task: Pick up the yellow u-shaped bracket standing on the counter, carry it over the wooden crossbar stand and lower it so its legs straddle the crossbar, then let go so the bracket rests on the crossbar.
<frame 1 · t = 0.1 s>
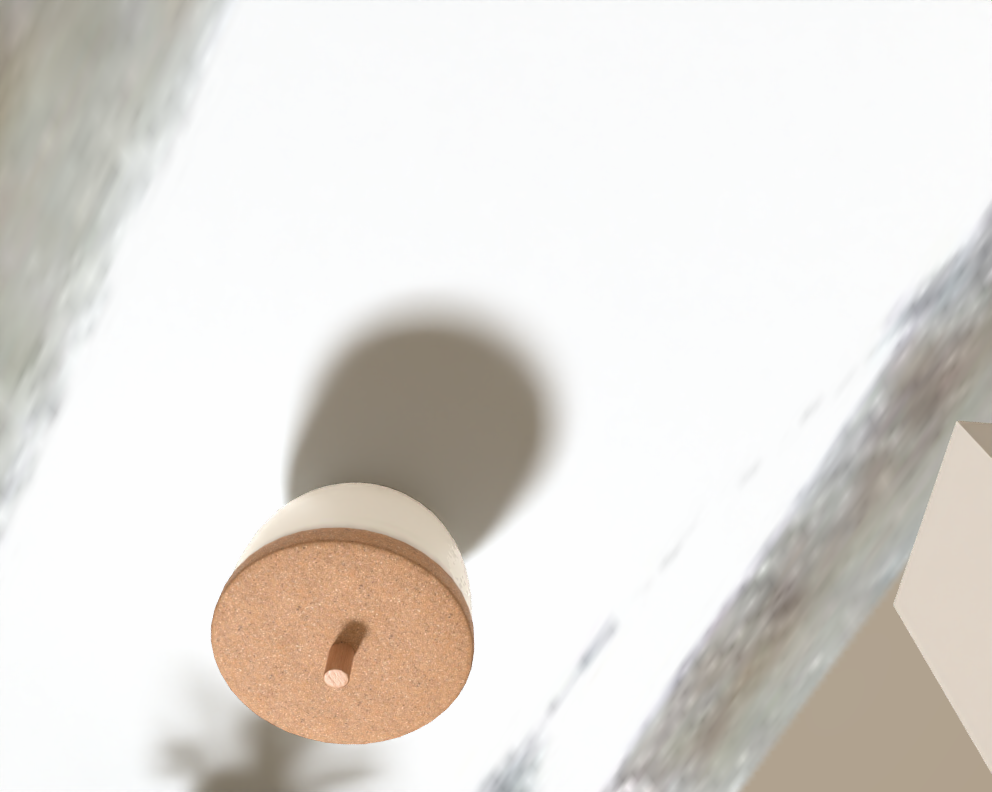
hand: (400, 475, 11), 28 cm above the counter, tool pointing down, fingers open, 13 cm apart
lidded jar: (366, 537, 46), on the counter
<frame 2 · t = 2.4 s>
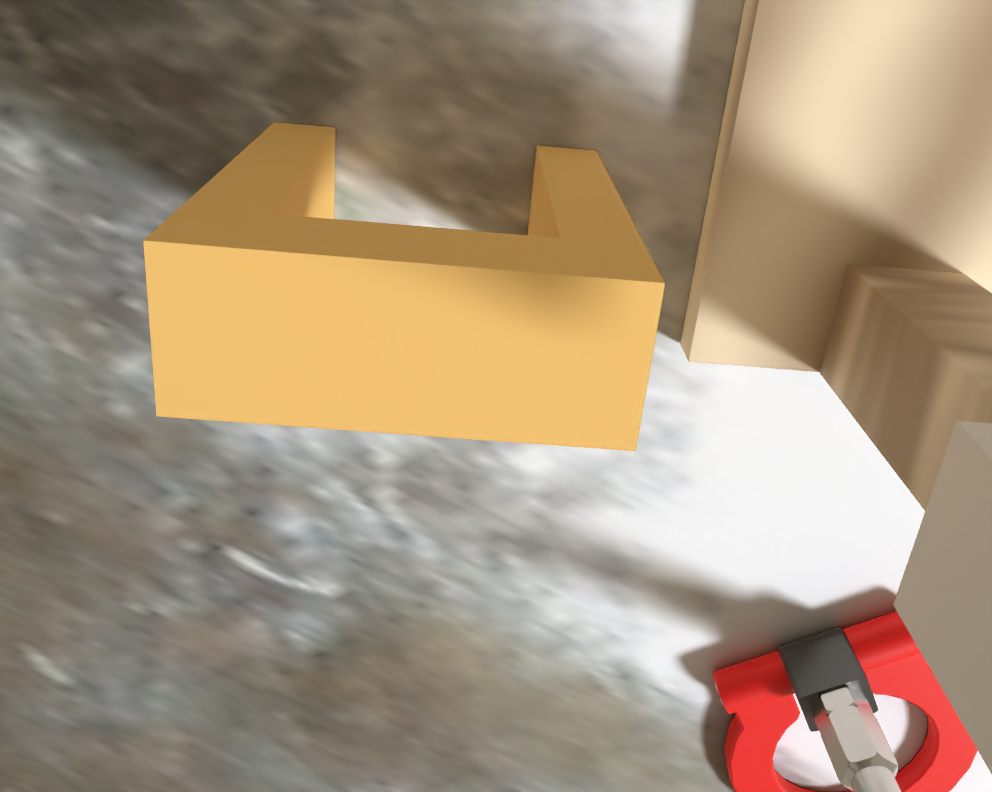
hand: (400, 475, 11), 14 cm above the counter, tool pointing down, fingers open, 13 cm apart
tow hook: (840, 719, 33), on the counter
wooden crossbar stand: (937, 75, 23), on the counter
yellow u-shaped bracket: (433, 196, 24), on the counter
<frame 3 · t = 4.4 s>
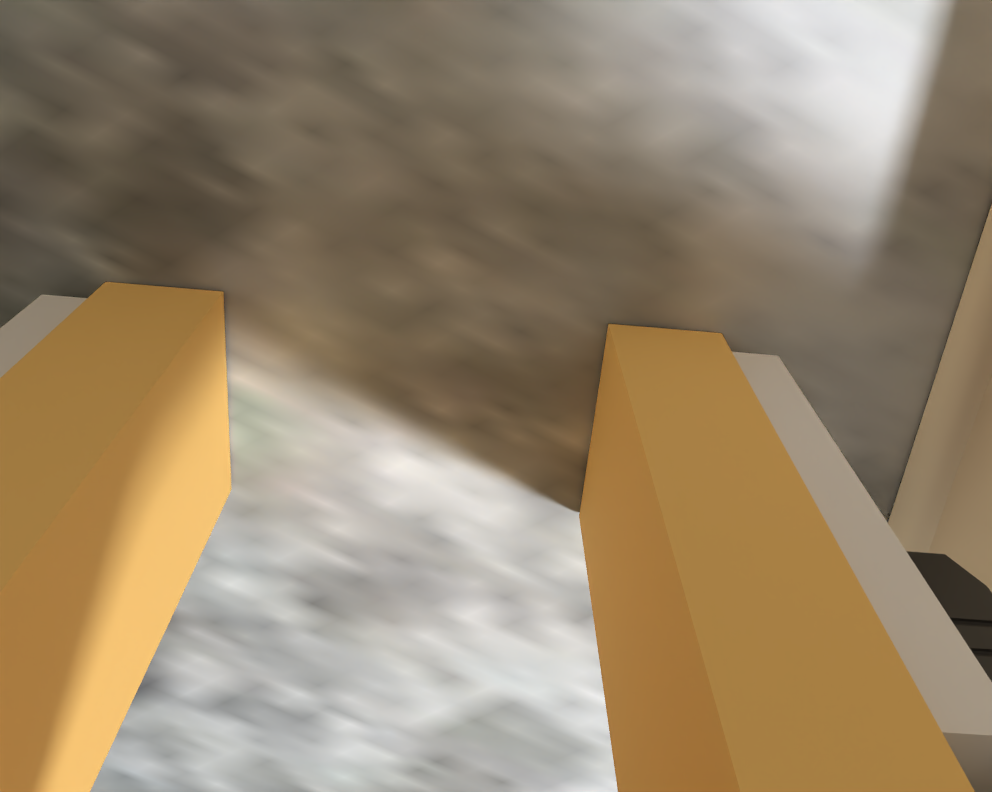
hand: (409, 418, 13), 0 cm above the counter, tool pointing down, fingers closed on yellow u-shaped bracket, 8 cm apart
yellow u-shaped bracket: (411, 410, 13), on the counter, touching gripper
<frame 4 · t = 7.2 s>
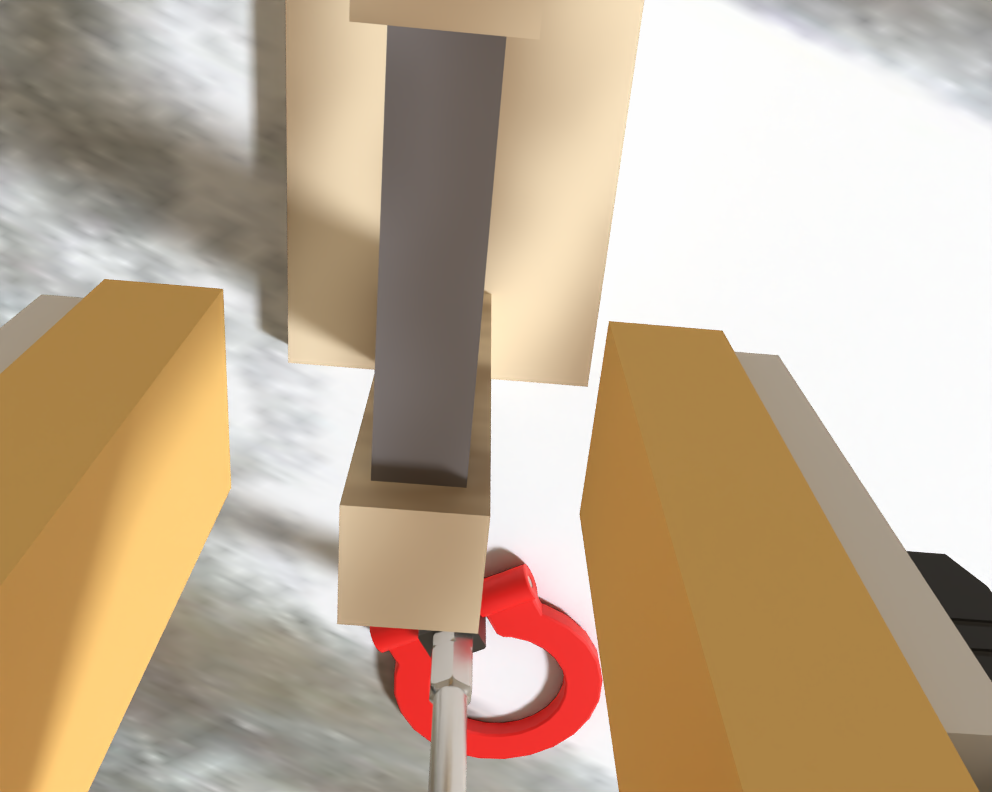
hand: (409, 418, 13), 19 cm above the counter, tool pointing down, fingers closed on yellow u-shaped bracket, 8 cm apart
tow hook: (493, 660, 39), on the counter
wooden crossbar stand: (456, 140, 30), on the counter
yellow u-shaped bracket: (411, 408, 13), point 18 cm above the counter, touching gripper
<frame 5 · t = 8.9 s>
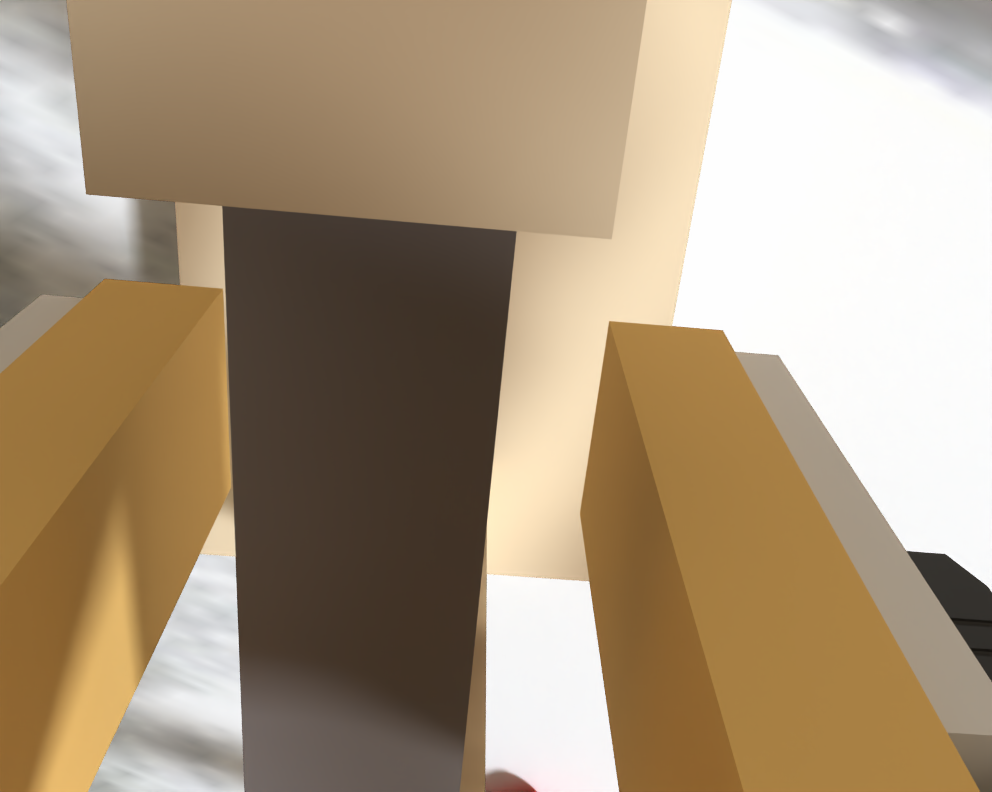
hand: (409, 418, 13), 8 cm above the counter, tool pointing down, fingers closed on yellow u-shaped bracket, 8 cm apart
wooden crossbar stand: (434, 243, 20), on the counter
yellow u-shaped bracket: (411, 407, 13), point 8 cm above the counter, touching gripper
when the fingers open (7 cm above the counter, at t = 10.1 s): yellow u-shaped bracket drops 1 cm, resting on wooden crossbar stand.
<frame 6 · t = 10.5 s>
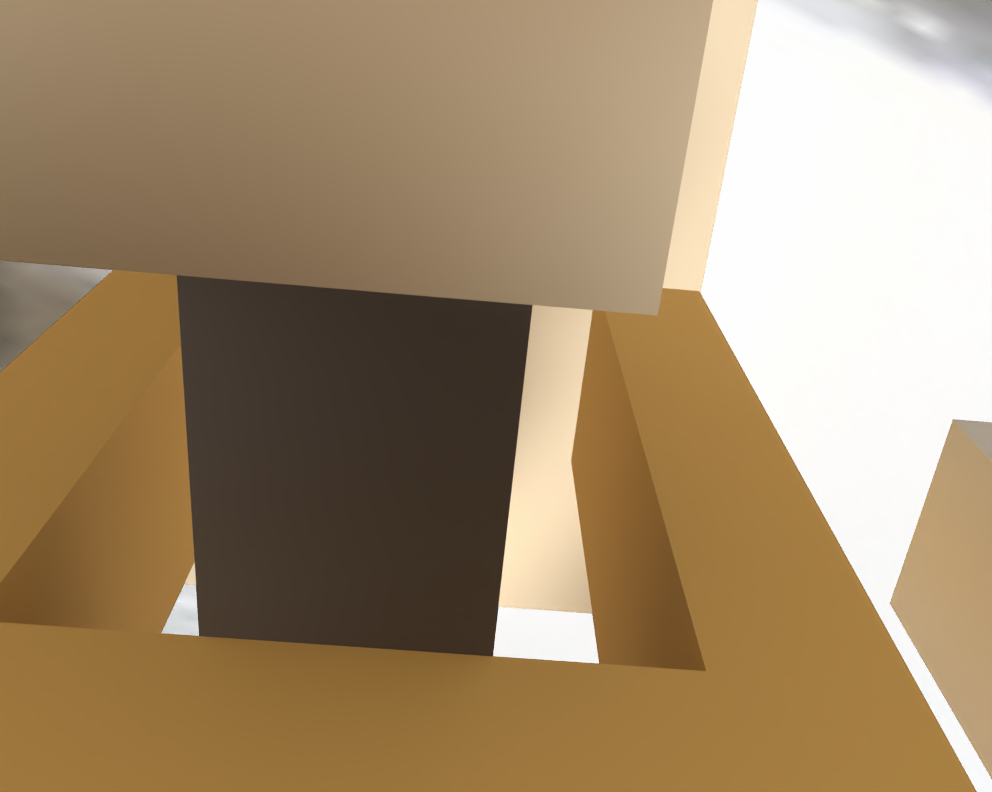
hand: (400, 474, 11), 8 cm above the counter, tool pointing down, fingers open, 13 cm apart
wooden crossbar stand: (437, 260, 19), on the counter
yellow u-shaped bracket: (418, 362, 14), point 5 cm above the counter, touching wooden crossbar stand
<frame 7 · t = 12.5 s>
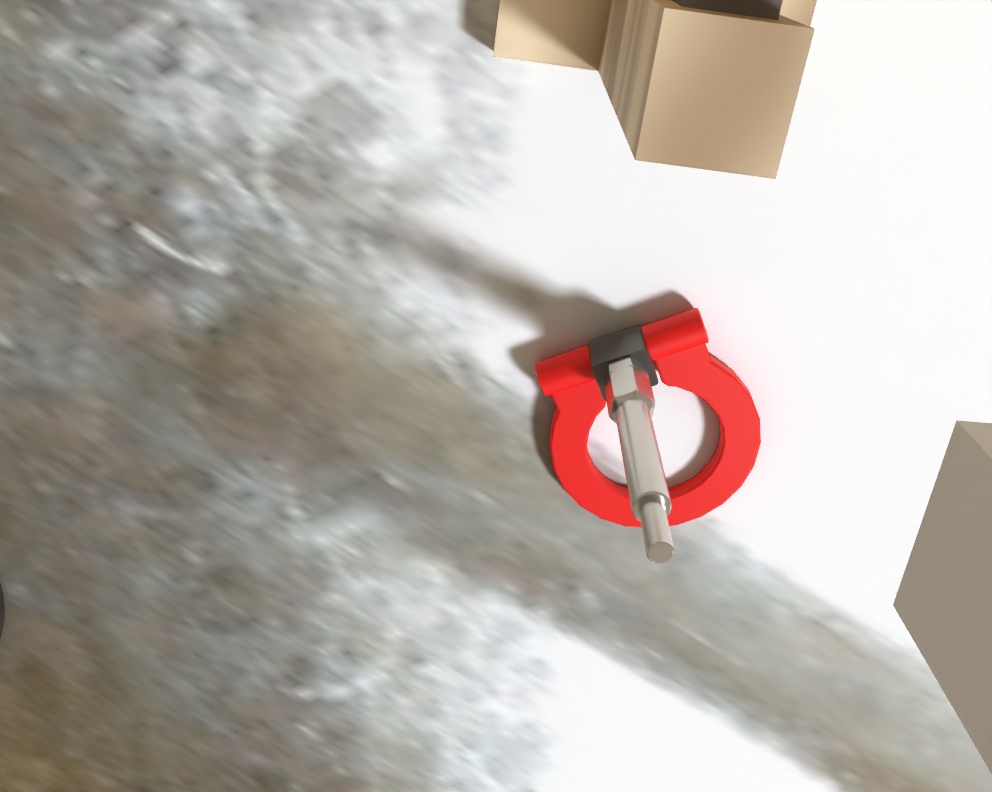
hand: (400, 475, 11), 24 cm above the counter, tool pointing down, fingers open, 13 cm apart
tow hook: (648, 421, 39), on the counter
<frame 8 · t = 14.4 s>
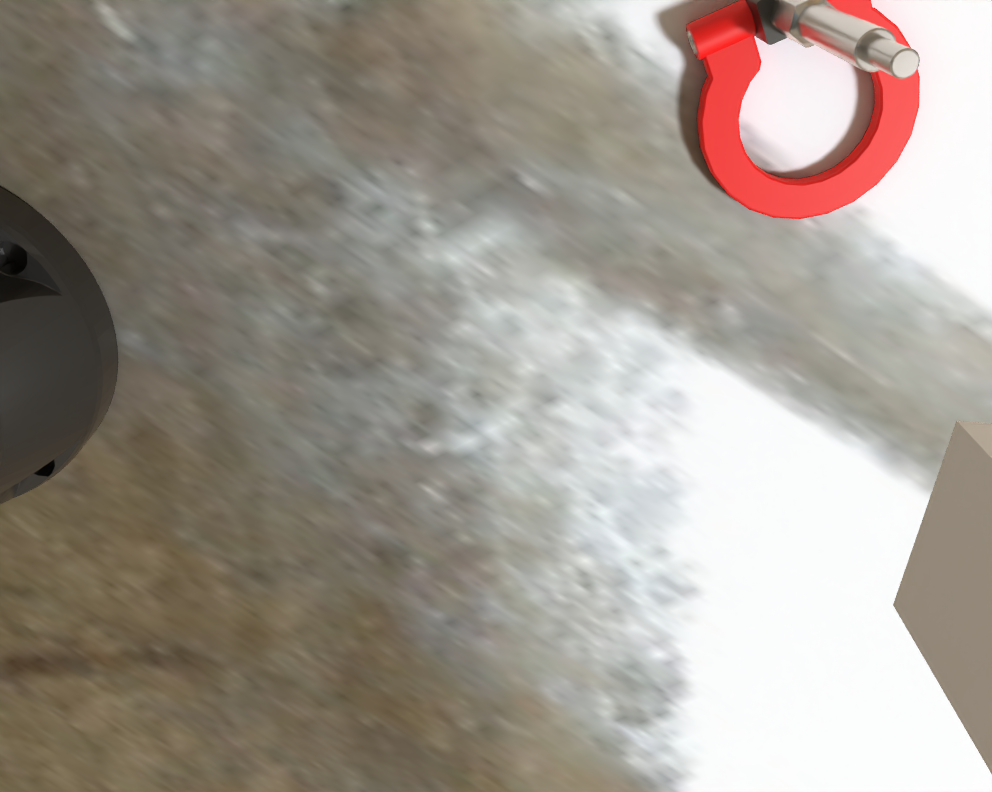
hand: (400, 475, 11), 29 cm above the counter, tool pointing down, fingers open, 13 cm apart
tow hook: (798, 98, 38), on the counter
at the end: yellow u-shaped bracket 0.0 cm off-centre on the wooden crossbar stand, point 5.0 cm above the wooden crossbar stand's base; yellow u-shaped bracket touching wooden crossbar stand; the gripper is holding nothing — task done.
